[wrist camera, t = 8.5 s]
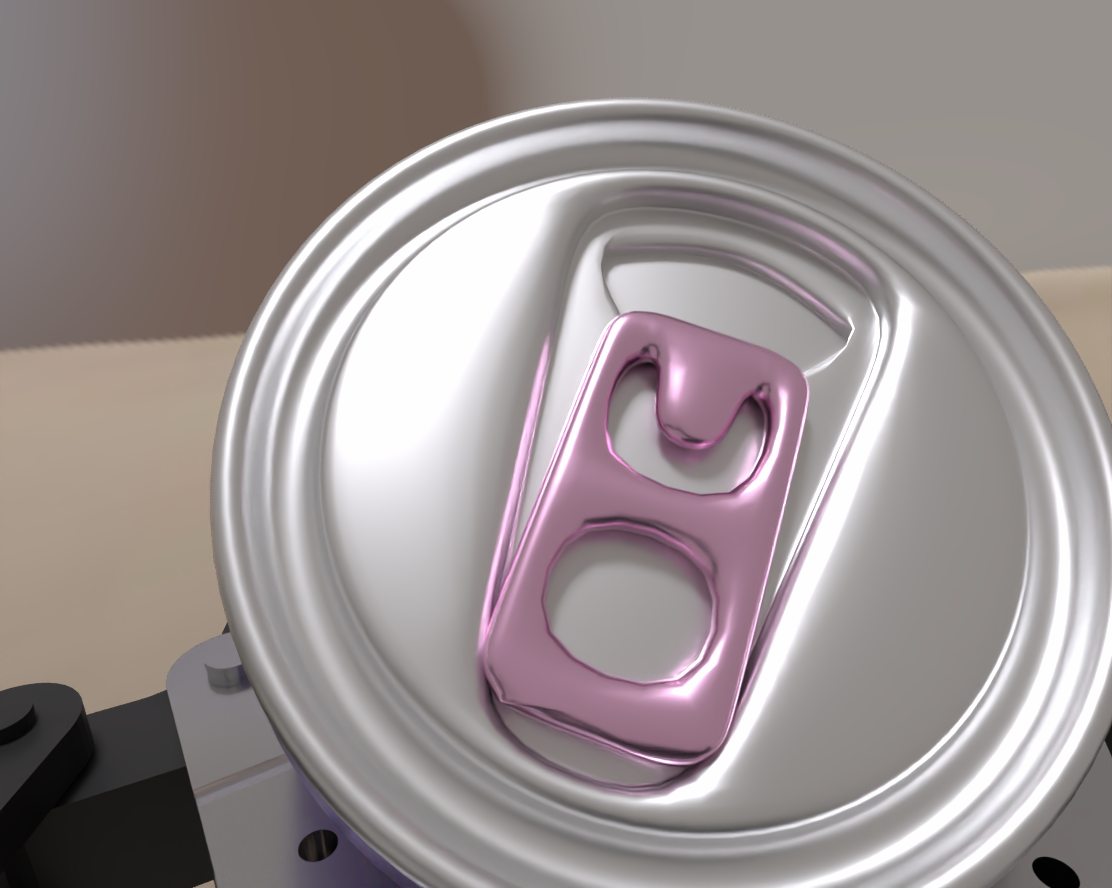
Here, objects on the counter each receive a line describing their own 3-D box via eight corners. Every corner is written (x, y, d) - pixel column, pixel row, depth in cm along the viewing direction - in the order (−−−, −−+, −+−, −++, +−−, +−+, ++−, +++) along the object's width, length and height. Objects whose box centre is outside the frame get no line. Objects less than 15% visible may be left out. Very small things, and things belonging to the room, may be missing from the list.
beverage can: (373, 783, 17) (-74, 757, 4) (473, 540, 20) (422, -18, 6) (628, 883, 17) (1175, 1268, 3) (699, 622, 19) (1187, 219, 6)
